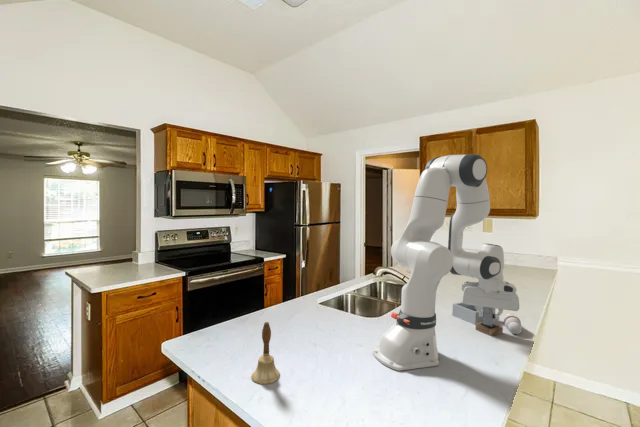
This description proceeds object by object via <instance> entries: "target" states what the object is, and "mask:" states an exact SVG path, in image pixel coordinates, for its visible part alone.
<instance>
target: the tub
mask: <svg viewBox="0 0 640 427" xmlns="http://www.w3.org/2000/svg"><path fill="white" fill-rule="evenodd" d="M480 311H481V312H483V307H482V306H480ZM451 315H452V316H453V317H456V318H458V319H461V320H462V321H466V322H468V323H470V324H472V325H475V326H476V323H480V322H483V317H479V312H478V310H477V308H476V306H475V305H468V304H464V303H463V302H462V301H461V302H457V303H456V302H455V303H452V314H451Z"/></svg>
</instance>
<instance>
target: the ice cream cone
mask: <svg viewBox="0 0 640 427" xmlns="http://www.w3.org/2000/svg"><path fill="white" fill-rule="evenodd" d="M503 325H504V326H505V327H506V329H507V330H508V331H509V332H510V333H511V334H513V335H519V334H520V333H521V332H522V323H521V320H520V318H518V316H515V315H514V314H511V313H509V312H507V313H506V315H505V317H504V320H503Z"/></svg>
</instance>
